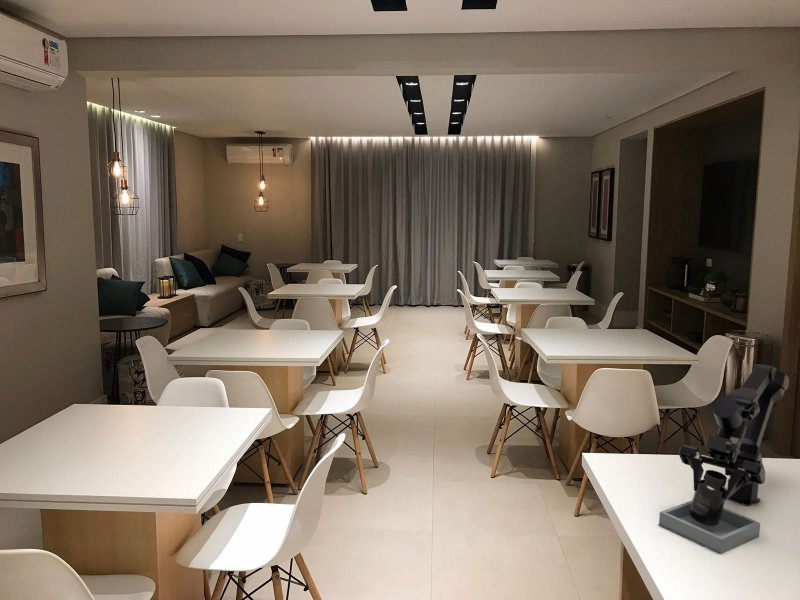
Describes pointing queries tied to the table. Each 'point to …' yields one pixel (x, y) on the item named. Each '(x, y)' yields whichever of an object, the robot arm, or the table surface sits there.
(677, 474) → the table surface
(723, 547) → the box
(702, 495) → the supplement bottle
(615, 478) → the table surface
